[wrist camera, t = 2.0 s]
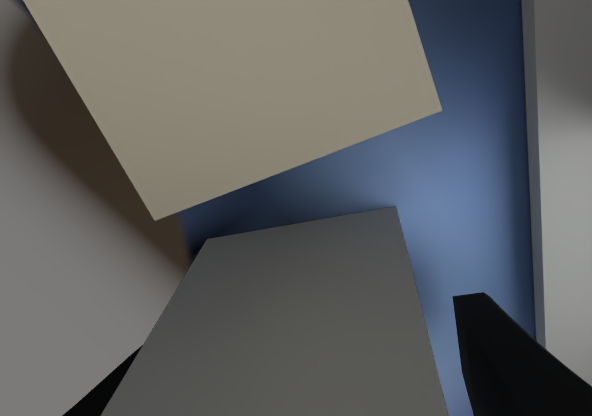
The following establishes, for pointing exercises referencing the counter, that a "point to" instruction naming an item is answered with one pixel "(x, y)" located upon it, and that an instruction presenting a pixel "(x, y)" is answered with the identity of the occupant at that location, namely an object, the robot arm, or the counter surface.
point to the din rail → (561, 174)
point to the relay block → (236, 84)
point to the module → (291, 328)
